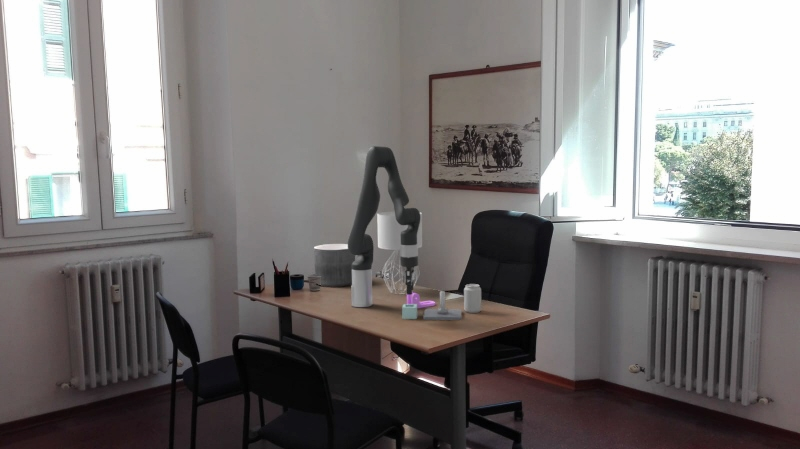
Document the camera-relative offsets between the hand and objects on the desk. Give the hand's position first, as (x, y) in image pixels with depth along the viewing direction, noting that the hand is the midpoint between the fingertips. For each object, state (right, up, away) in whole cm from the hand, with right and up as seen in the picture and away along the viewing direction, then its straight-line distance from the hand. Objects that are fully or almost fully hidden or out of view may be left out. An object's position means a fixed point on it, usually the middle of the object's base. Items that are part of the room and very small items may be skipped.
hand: (410, 292), depth 281 cm
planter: (-40, -3, +77) cm, 87 cm away
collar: (0, -11, +1) cm, 11 cm away
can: (+28, -10, +9) cm, 31 cm away
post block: (+14, -10, +3) cm, 18 cm away
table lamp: (-4, -5, +53) cm, 53 cm away
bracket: (+6, -9, +22) cm, 24 cm away
